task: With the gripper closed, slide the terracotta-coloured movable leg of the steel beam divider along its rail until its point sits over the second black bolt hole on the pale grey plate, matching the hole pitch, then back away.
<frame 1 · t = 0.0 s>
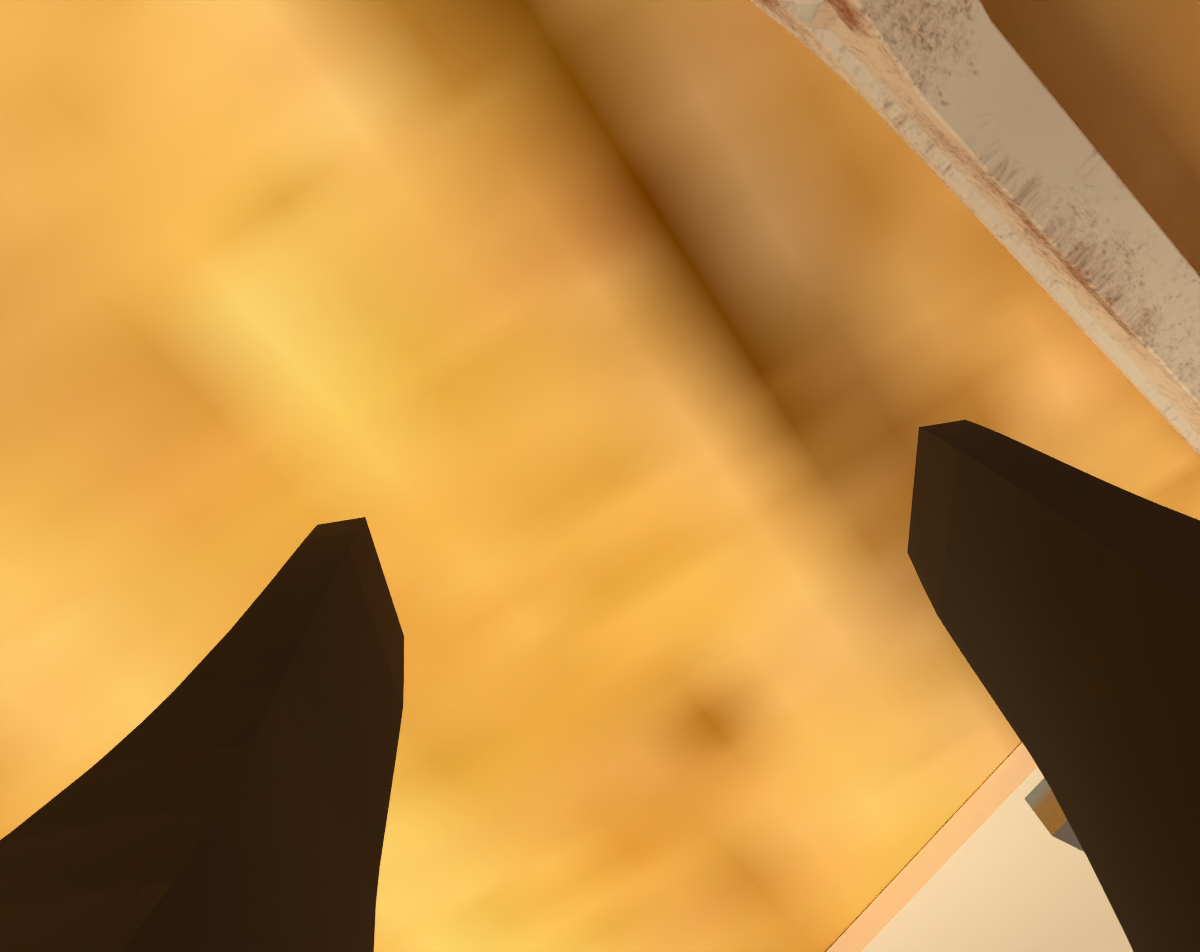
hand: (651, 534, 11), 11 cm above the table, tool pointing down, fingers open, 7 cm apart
wrench: (980, 200, 21), on the table
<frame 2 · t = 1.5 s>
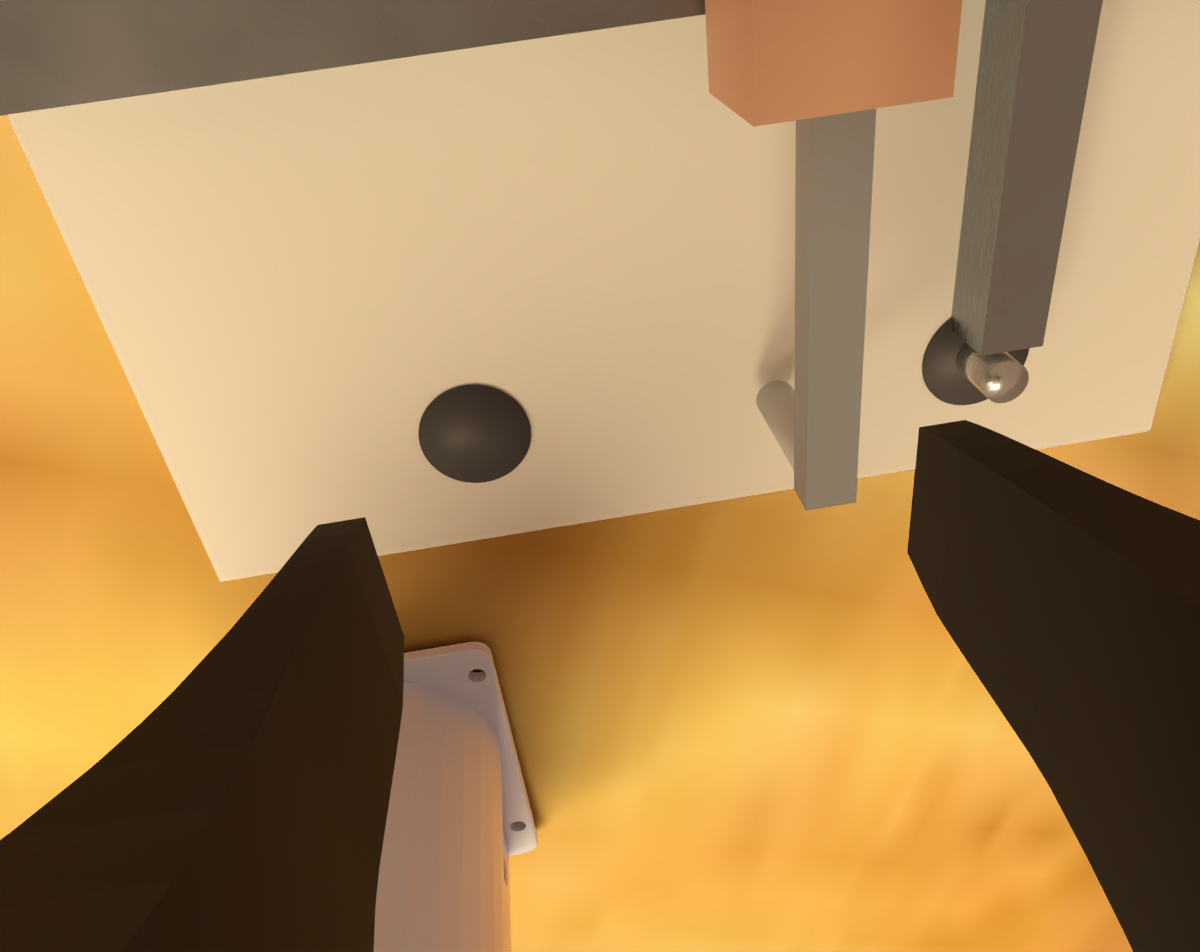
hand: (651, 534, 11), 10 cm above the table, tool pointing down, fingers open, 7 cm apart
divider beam: (662, 174, 19), resting on hole plate
hole plate: (662, 174, 19), on the table
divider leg: (806, 192, 16), point 4 cm above the table, slide at 5.0 cm
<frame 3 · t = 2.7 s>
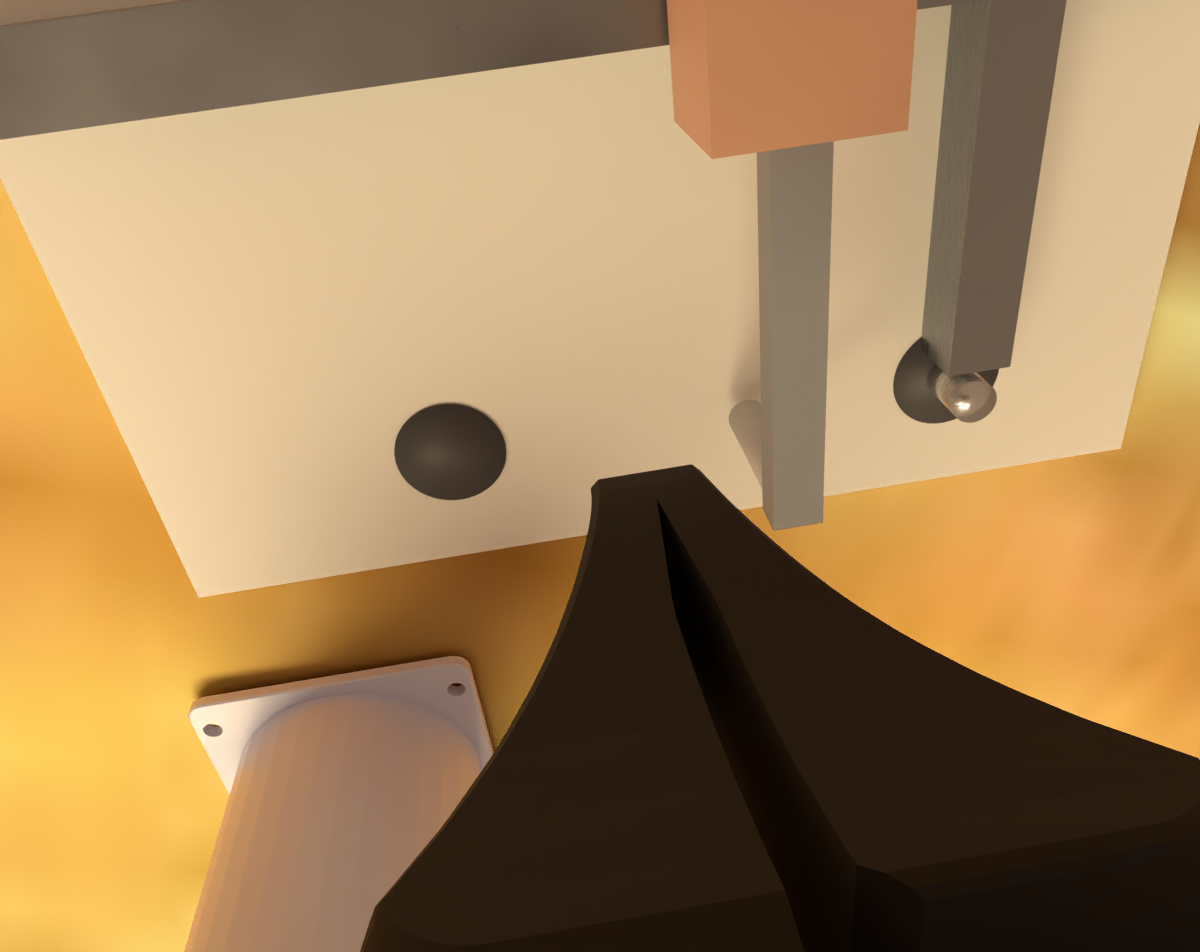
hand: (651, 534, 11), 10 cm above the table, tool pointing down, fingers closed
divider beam: (633, 197, 19), resting on hole plate
hole plate: (633, 197, 19), on the table
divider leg: (771, 218, 16), point 4 cm above the table, slide at 5.0 cm
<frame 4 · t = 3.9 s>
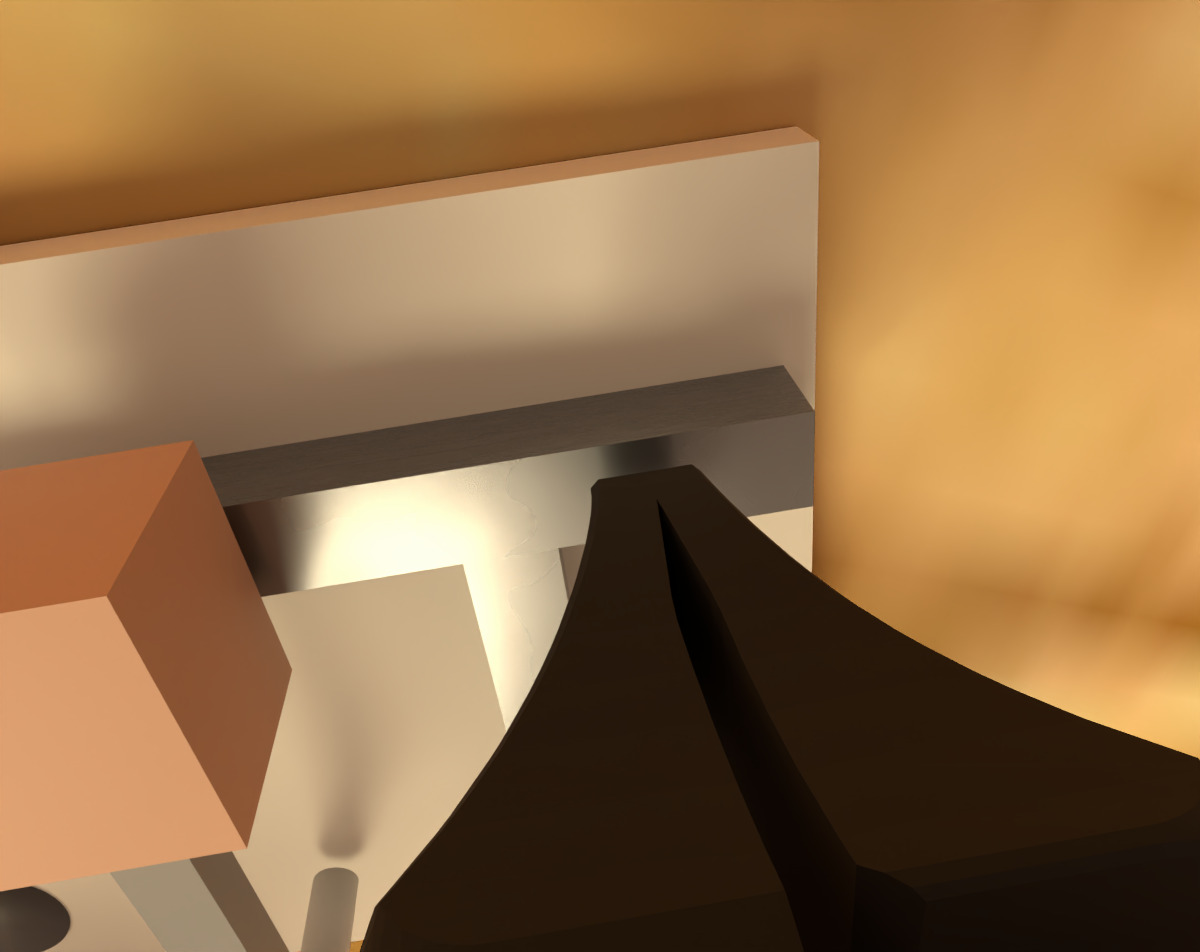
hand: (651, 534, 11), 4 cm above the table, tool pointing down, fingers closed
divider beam: (165, 669, 16), resting on hole plate
hole plate: (165, 669, 16), on the table
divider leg: (218, 808, 13), point 4 cm above the table, slide at 5.0 cm
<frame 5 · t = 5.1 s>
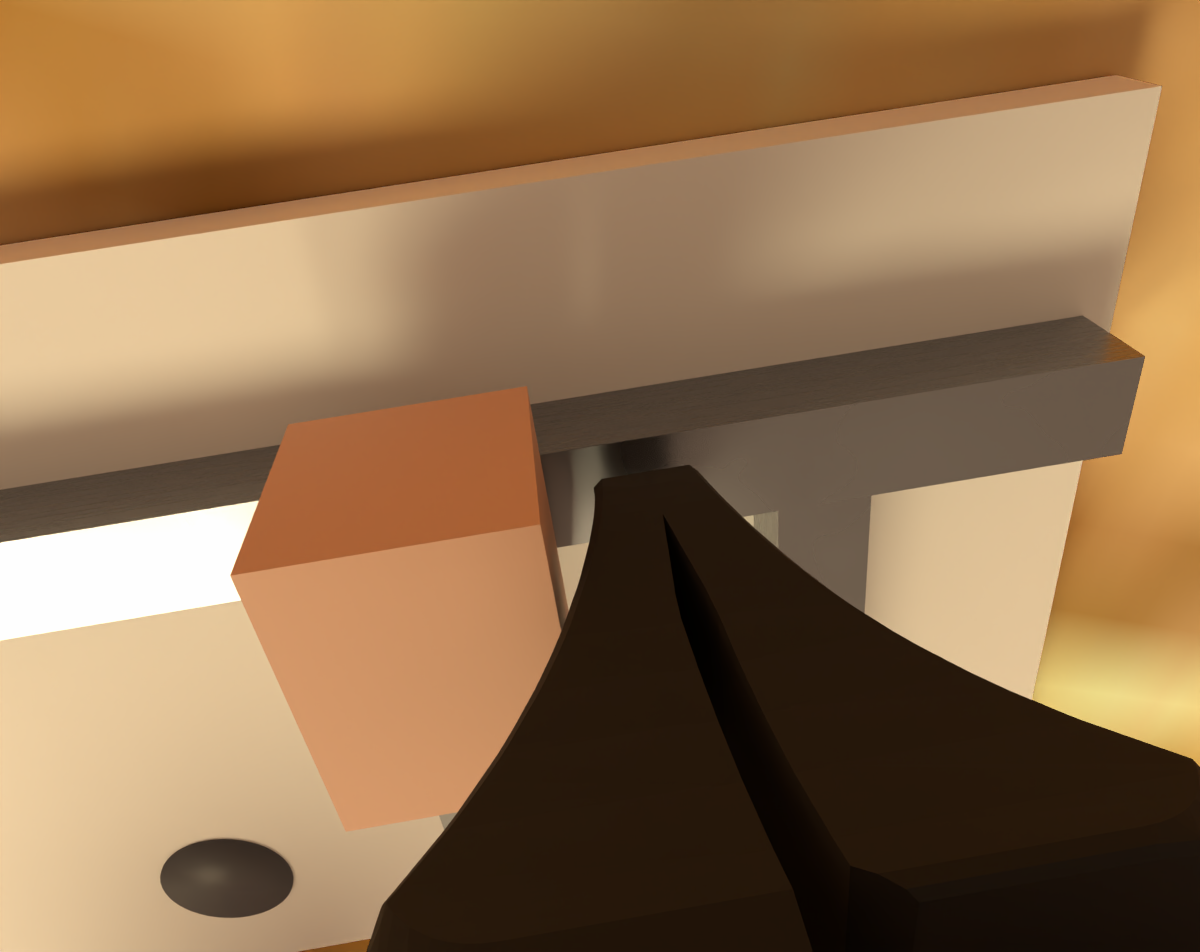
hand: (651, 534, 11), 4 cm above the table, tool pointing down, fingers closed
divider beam: (413, 628, 17), resting on hole plate
hole plate: (413, 628, 17), on the table
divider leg: (493, 760, 13), point 4 cm above the table, slide at 5.5 cm, touching gripper
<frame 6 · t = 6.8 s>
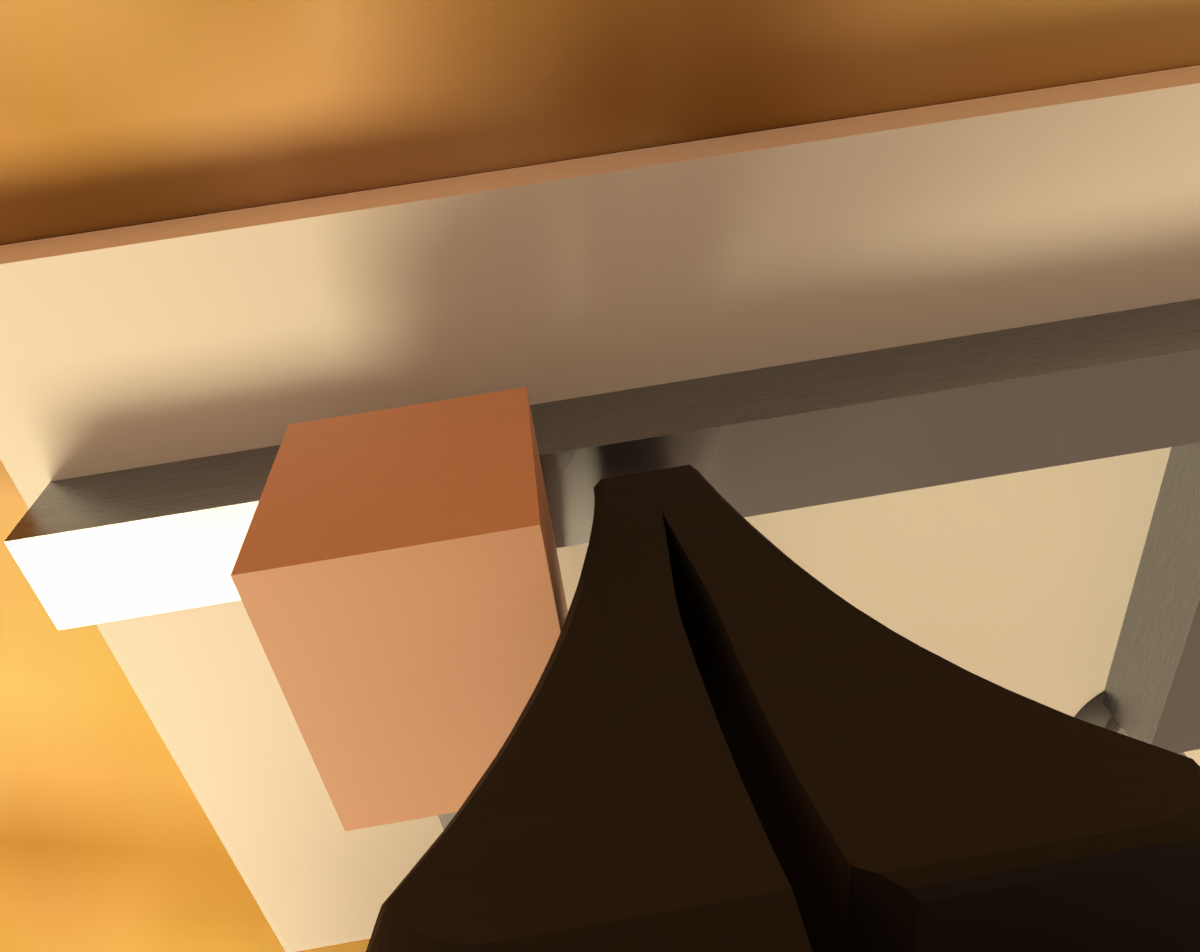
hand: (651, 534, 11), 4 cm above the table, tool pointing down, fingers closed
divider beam: (792, 565, 17), resting on hole plate
hole plate: (792, 565, 17), on the table
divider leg: (492, 760, 13), point 4 cm above the table, slide at 12.8 cm, touching gripper
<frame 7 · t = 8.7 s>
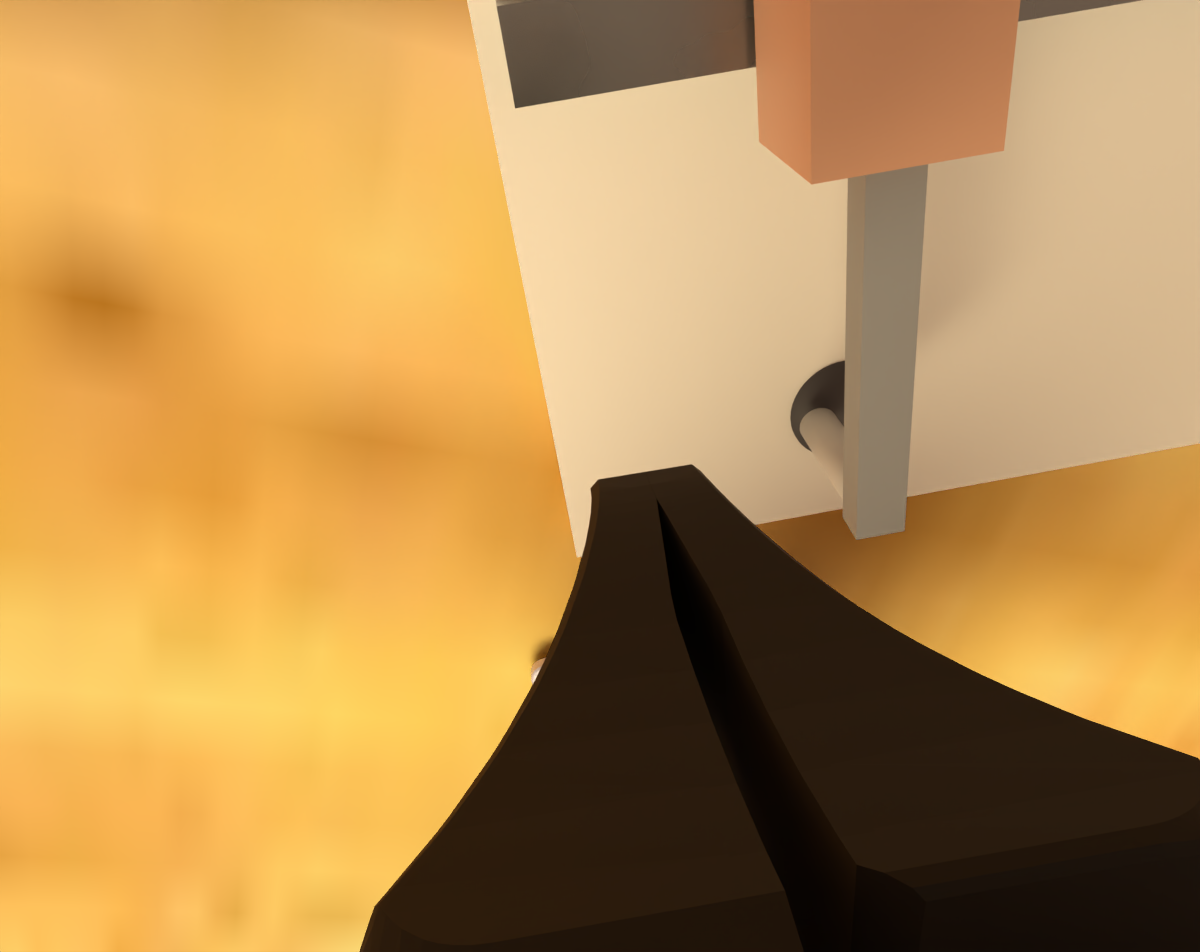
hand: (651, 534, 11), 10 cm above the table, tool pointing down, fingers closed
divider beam: (1051, 151, 19), resting on hole plate
hole plate: (1051, 151, 19), on the table
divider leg: (855, 235, 16), point 4 cm above the table, slide at 12.8 cm
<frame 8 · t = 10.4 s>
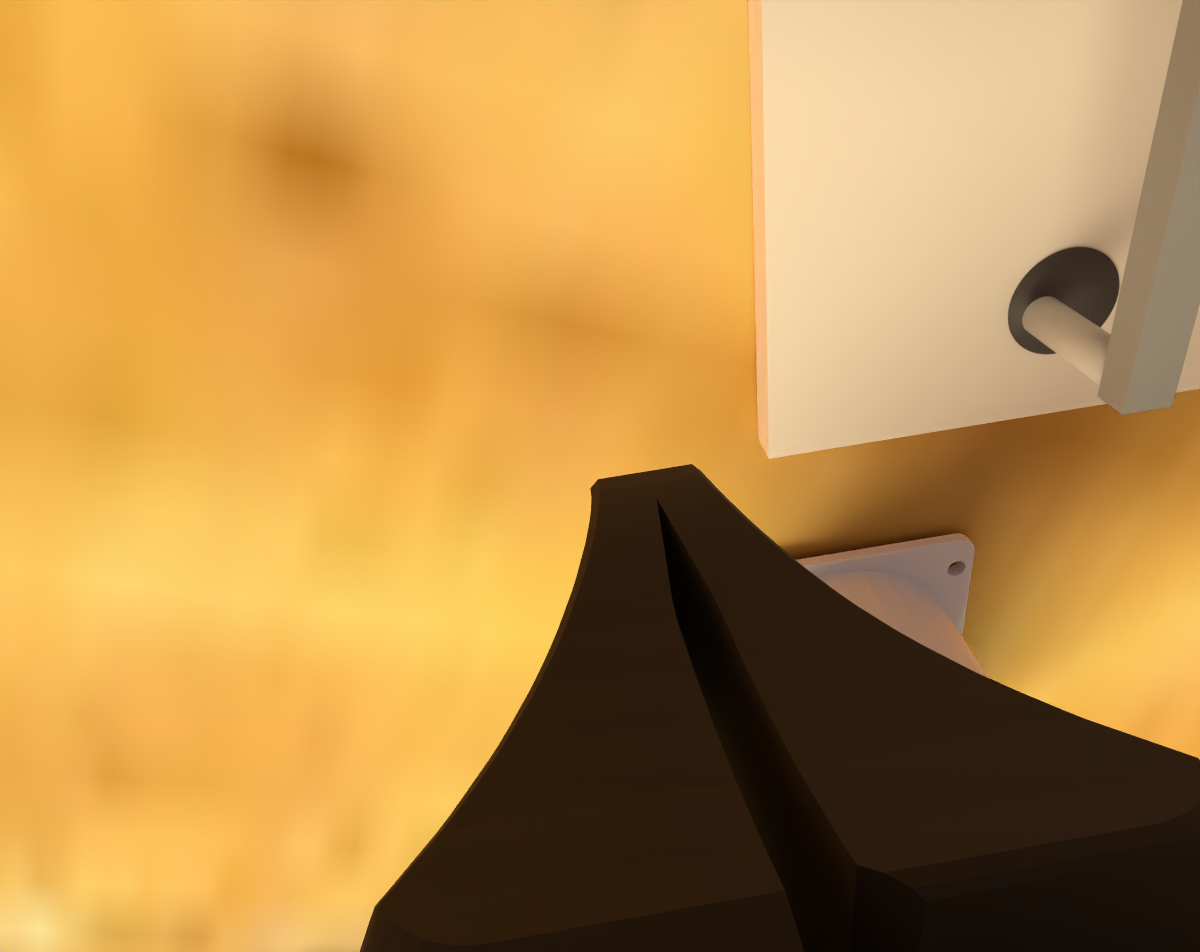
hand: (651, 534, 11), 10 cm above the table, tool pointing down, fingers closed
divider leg: (1154, 79, 15), point 4 cm above the table, slide at 12.8 cm
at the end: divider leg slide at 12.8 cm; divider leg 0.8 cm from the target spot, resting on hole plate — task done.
